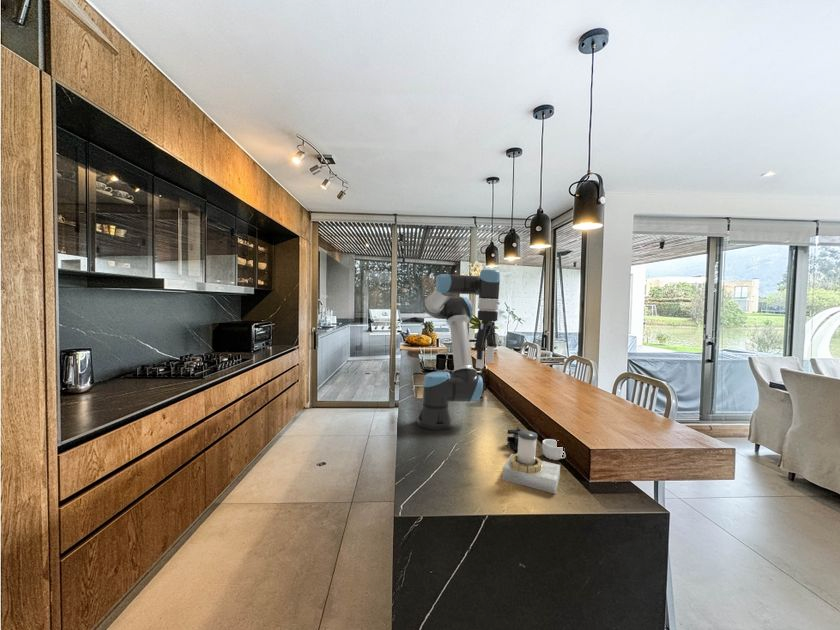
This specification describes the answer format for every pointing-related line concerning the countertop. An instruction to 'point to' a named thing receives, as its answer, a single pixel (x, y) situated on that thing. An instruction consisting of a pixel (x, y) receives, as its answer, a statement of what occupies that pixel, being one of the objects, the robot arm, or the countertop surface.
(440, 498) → the countertop surface
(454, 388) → the robot arm
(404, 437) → the countertop surface
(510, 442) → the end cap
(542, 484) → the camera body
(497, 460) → the countertop surface
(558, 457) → the teacup
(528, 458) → the telephoto lens
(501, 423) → the countertop surface
